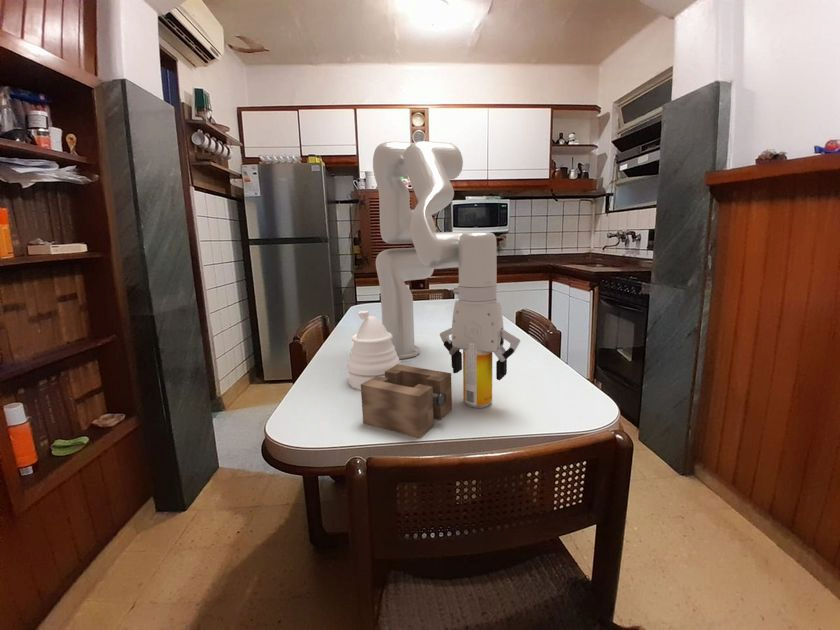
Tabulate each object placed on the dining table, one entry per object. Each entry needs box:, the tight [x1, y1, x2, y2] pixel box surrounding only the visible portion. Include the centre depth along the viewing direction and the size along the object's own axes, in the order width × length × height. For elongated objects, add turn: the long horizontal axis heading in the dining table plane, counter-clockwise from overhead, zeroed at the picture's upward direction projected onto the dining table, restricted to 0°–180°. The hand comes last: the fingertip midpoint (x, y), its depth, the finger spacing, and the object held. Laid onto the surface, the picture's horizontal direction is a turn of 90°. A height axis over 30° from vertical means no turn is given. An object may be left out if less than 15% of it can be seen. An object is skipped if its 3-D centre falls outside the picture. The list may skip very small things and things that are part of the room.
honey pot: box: [347, 310, 401, 391], centre depth 99 cm, size 13×13×18 cm
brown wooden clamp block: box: [360, 363, 453, 439], centre depth 80 cm, size 13×13×8 cm
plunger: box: [433, 392, 446, 407], centre depth 77 cm, size 5×3×3 cm, turn 60°
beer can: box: [462, 343, 493, 409], centre depth 84 cm, size 6×6×15 cm
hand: (478, 374), depth 84 cm, fingers open, 9 cm apart
